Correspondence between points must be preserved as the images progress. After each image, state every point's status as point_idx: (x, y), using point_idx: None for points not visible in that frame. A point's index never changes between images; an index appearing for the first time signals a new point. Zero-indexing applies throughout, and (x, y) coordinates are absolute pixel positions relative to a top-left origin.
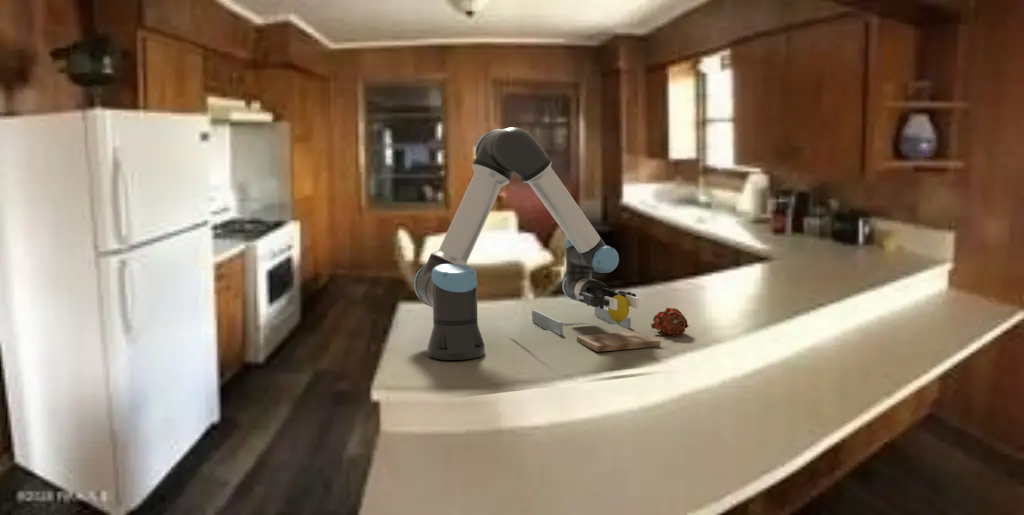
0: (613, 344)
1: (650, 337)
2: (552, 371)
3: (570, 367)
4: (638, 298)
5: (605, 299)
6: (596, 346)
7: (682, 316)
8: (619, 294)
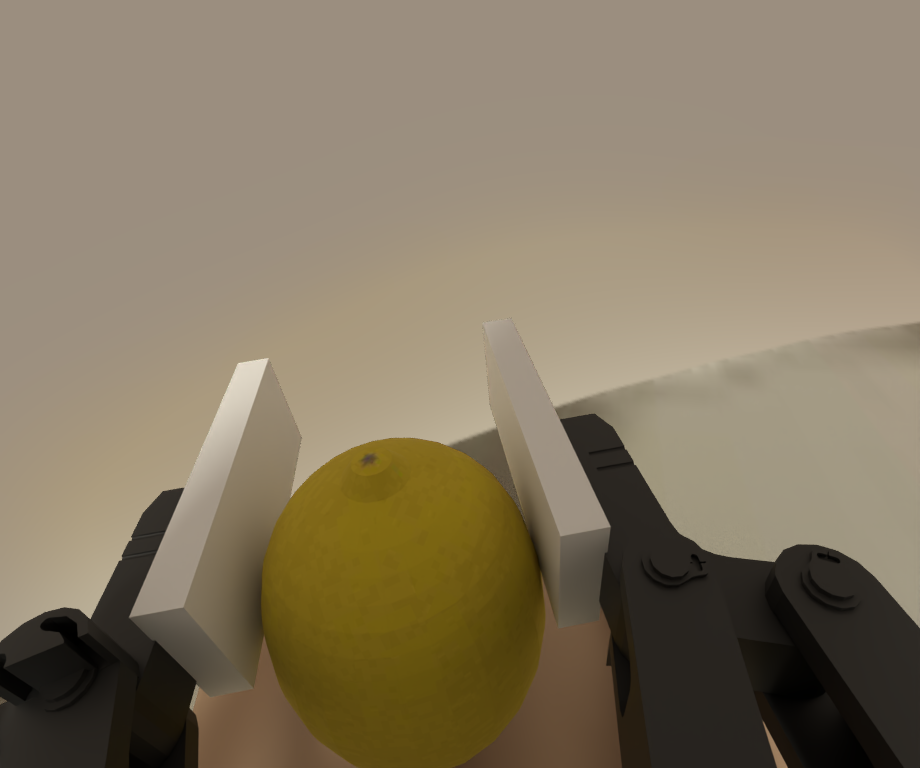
0: None
1: (206, 712)
2: (822, 408)
3: (756, 439)
4: (244, 366)
5: (593, 487)
6: None
7: None
8: (366, 449)
